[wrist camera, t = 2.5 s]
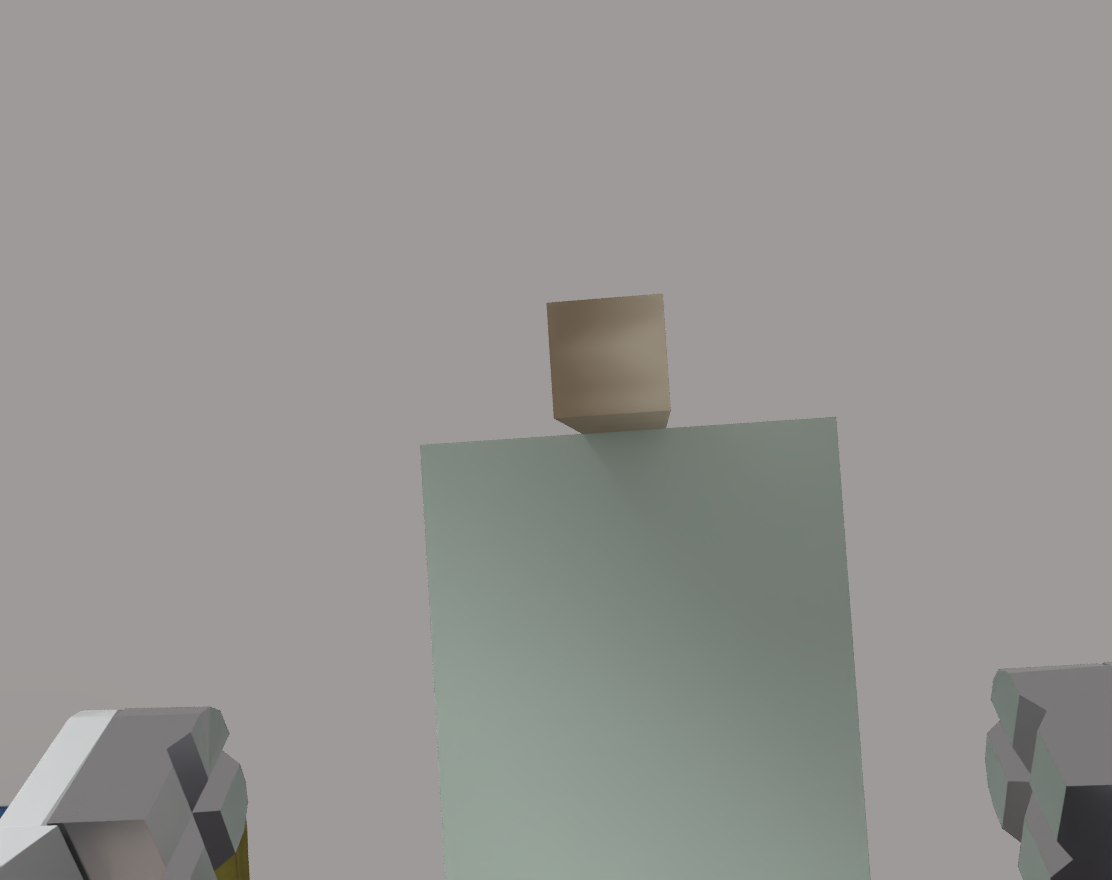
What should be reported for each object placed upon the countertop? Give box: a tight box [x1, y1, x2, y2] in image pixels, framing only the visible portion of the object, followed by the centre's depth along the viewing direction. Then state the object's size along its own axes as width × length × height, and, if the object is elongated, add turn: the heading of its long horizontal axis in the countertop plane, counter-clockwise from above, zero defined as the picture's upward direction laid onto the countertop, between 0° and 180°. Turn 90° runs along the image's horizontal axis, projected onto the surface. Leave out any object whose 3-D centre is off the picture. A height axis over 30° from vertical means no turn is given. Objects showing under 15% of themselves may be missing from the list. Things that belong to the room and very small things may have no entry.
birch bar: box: [547, 294, 671, 434], centre depth 31 cm, size 2×20×2 cm, turn 174°
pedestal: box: [420, 417, 870, 880], centre depth 34 cm, size 12×10×26 cm
